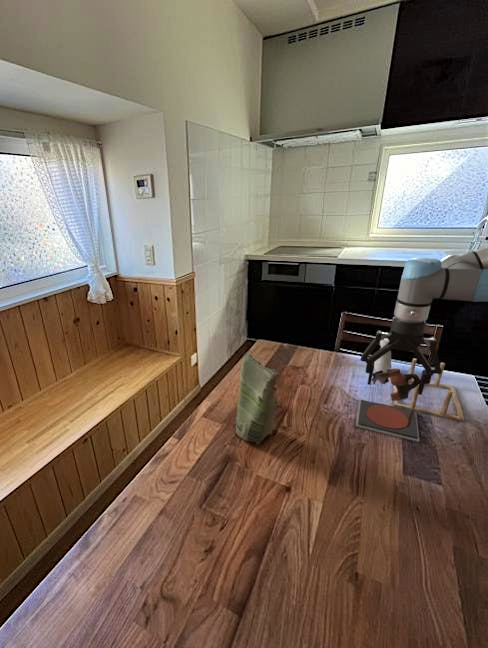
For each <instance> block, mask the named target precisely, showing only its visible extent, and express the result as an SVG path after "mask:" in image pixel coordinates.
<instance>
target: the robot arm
mask: <svg viewBox="0 0 488 648" xmlns="http://www.w3.org/2000/svg"><path fill="white" fill-rule="evenodd" d="M434 299H439V300H452V301H463V302H464V301H466V302H473V303H477V302H481V303H482V302H483V303H484V302H488V246H485V247H482V248H478V249H476V250H474V251H473V250H472V251H469V252H466V253H463V254H461V255H459V254H450V255H447V256H444V257H443V258H441V259H438V258H432V257H412V258H409V259H408V260H407V261H406V262H405V263H404V267H403V272H402V275H401V277H400V283H399V288H398V294H397V299H396V302H395V307H394V311H393V315H394V316H393V317H392V321H391V325H390V330H389V332H384V331H382V330H377V331H376V334H375V337H374V338H373V340H372V341H371V342H370V343H369V345H368V346H367V347H366V349H365V350H364V351H363V352H362V354H361V356H360V361H361V362H364V363H366V366H365V373H366V374H368V378H367V385H368V386H371V385H372V378H373V373H374V371H375V369H374V363H375V361H376V360H378V359H379V358H380V357H382V356H383V355H385V354H386V353H387V352H389V351H391V352H392V351H393V350H396V351H404V352H408V353H410V352H412V353H413V354H414V355H415V357H416V359H417V360H418V361H419V363H420V364H421V366H422V367H423V369H422V372H421V376H420V378H419V379H420V383H419V387H418V396H419V395H420V396H422V395H423V392H424V389H425V388H424V387H425V386H426V385H425V384H429V383H430V382H431V380H432V377H434V375H435V374H437V375H438V374H441V373H442V371H441V367H440V364H441V363H440V360H439V357H438V353H437V349H436V347H437V339H436V337H434V336H431V337H424V333H425V330H426V326H427V320H428V318H429V313H430V310H431V305H432V302H433V300H434ZM384 339H388V340H389V342H388V343H387V344H386V345H385V346H383V347H382V348H381V347H380V348H381V349H380V348H379V349H378V350H377V351H375V349H376V348H377V346H378V345H380V341H381V340H384ZM423 344H425V346H426V347H428V348H429V351H430V356H431V360H432V362H433V363H432V364H433V366H431V364H430V363H429V362H428V360H427V358H426V357H425V355H424V354H423V352H422V350H421V348H420V346H421V345H423ZM374 351H375V352H374ZM373 352H374V353H373ZM372 353H373V354H372ZM442 374H443V373H442Z"/></svg>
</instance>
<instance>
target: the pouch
mask: <svg viewBox="0 0 488 648" xmlns="http://www.w3.org/2000/svg"><path fill="white" fill-rule="evenodd" d="M261 362H262V360H261V359H260V360H257V359H256V358H255V356H253V355H251V354H250V353H247V352H244V354H243V356H242V361H241V366H240V371H239V388H238V396H237V397H238V398H237V406H236V407H237V408H236V420H235V432H236V435H237V436H238V437H239V438H240V439H241V440H243V441H245V442H252V443H256V444H257V445H260V444H261V442H263V440H264V439H265V438H266V437H267V436H269V435H273V431H274V422H275V413H274V411H275V410H274V409H275V408H276V407H277V405H278V397H276V396H275V395H274V392H275V391H276V390H277V388H276V387H275V382H276V381H277V379H276V377H277V376H278V374H279V373H278V371H277V370H276V369H273V368H269V367H268V365H263V364H261Z"/></svg>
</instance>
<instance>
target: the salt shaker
mask: <svg viewBox="0 0 488 648" xmlns="http://www.w3.org/2000/svg"><path fill="white" fill-rule="evenodd" d="M388 342H389V340H388V338H384V340H380V342H379V346H380V348H379V349H381V348H382V347H383V346H385V345H386V344H387V343H388ZM388 369H392V350H391V351H389V352H387V353H386V354H385V355H383V356H382V357H380V358H379V359H378V360H376V361H375V363H374V372H378V371H383V373H385V372H387V370H388Z"/></svg>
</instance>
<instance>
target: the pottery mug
mask: <svg viewBox="0 0 488 648" xmlns="http://www.w3.org/2000/svg"><path fill="white" fill-rule="evenodd" d="M411 378H412V379H414V381H413V382H411V383H410V382H408V381H409V380H410V379H411ZM420 379H421V378H420V376H419V375H417V374H416V373H413V374H409V373H403V372H401V369H400V368H391V369H388V370H387V372H385V373H383V371H378V372H376V371H374V372H373V375H372V380H371V382H372V384H373V385H375V384H376V382H377V381H378V382H379V383H380V384H382V385H386V384H387V383H389V382H390V384H391V385H392V386H393V385H395V386H396V388H397V392H396V393H394V392H391V393H390V397H391V401H392V402H394V401H398V402H399V401H403V400H406V399H408V398H409V395H410V392H411V390H413V389H414V390H415V388H416V387H417V386H418V385H419V383H420Z"/></svg>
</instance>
